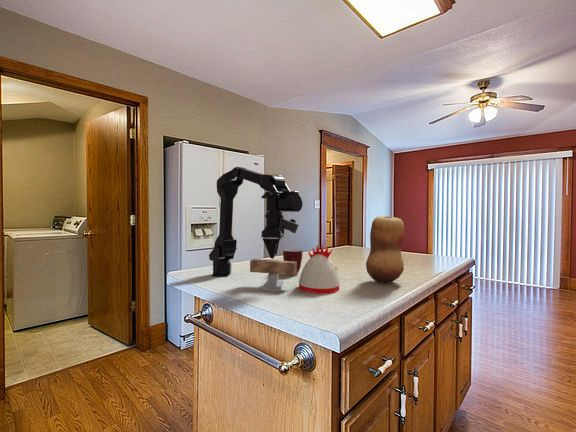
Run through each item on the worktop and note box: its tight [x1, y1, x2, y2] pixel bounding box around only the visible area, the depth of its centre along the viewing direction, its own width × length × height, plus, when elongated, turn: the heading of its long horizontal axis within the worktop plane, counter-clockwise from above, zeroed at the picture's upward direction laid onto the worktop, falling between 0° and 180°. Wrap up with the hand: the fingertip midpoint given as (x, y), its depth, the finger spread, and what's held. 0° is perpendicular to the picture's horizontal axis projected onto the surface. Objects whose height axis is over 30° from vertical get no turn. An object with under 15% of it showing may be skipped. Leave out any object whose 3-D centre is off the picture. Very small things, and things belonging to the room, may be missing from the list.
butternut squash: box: [365, 215, 405, 284], centre depth 116 cm, size 14×13×25 cm
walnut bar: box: [249, 258, 298, 276], centre depth 108 cm, size 16×4×4 cm, turn 74°
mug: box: [282, 248, 303, 276], centre depth 128 cm, size 11×8×10 cm
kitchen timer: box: [298, 244, 340, 295], centre depth 107 cm, size 14×14×15 cm
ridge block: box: [261, 273, 284, 292], centre depth 108 cm, size 6×12×5 cm, turn 177°
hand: (273, 256), depth 107 cm, fingers open, 9 cm apart
